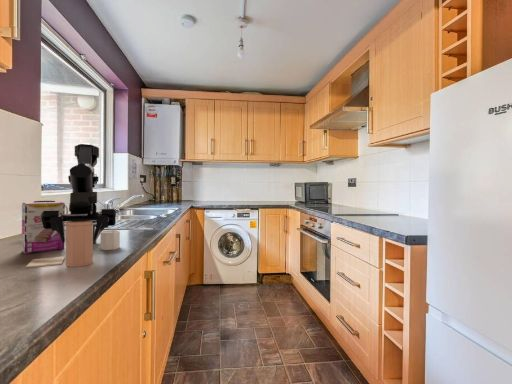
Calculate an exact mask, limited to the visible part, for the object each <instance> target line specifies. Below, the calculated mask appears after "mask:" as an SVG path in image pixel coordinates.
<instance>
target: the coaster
mask: <svg viewBox="0 0 512 384" xmlns="http://www.w3.org/2000/svg"><path fill="white" fill-rule="evenodd" d="M64 260H66V256H56V257H55V256H54V257H46V258H45V257H43V258H35V259H34V258H32V260H31V261H30V262H28V264H27V265H26V266H25V268H26V269H29V268H39V267H49V266H50V267H51V266H57V265H63V263H64Z"/></svg>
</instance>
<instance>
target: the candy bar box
mask: <svg viewBox="0 0 512 384" xmlns="http://www.w3.org/2000/svg"><path fill="white" fill-rule="evenodd" d="M65 205H66V203H65V202H62V201H55V202H36V203H34V202H22V203H21V252H22V253H23V254H24V255H28V254H34V253H35V254H36V253H42V252H50V251H55V250H63V249H65V243H64V244H63V243H62V241H61V238H60V236H59V234H58V233H57V231H53V230H52V229H45V228H43V223H42V219H41V215H42V212H43V211H45V210H59V213H62V214H66V211H65V210H66V209H65V208H66V207H65ZM63 225H64V226H65V222H63Z"/></svg>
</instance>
